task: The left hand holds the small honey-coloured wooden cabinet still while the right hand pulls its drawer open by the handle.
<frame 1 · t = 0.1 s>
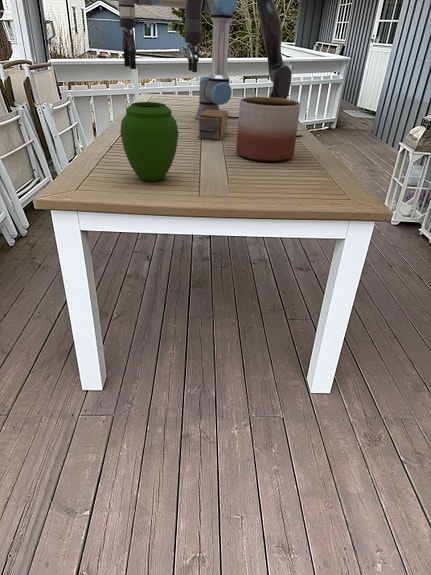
left hand: (130, 67, 208), 28 cm above the table, tool pointing down, fingers open, 13 cm apart
right hand: (192, 71, 193), 29 cm above the table, tool pointing down, fingers open, 8 cm apart
cabinet: (213, 135, 211), on the table
vase: (151, 178, 146), on the table
planter: (264, 155, 181), on the table
drawer: (211, 126, 204), point 6 cm above the table, slide at 1.1 cm
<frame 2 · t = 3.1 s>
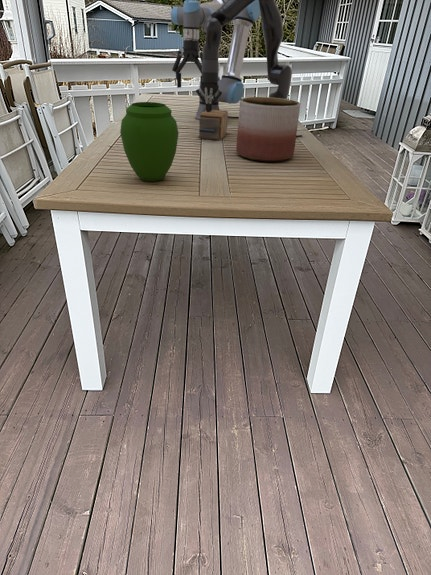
left hand: (190, 88, 207), 20 cm above the table, tool pointing down, fingers open, 13 cm apart
right hand: (208, 112, 193), 13 cm above the table, tool pointing down, fingers closed
nothing on the table moved.
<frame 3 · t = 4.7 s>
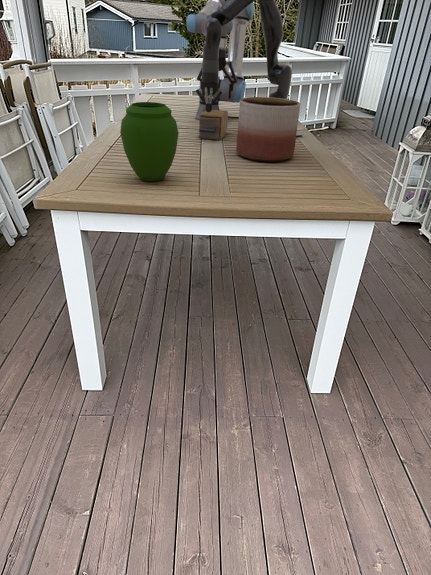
left hand: (216, 97, 206), 17 cm above the table, tool pointing down, fingers open, 13 cm apart
right hand: (208, 112, 193), 13 cm above the table, tool pointing down, fingers closed
nothing on the table moved.
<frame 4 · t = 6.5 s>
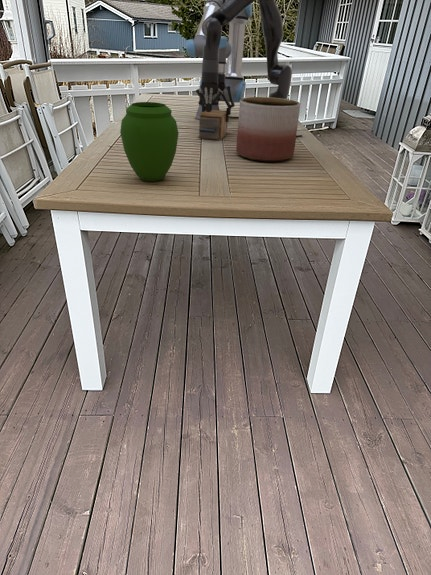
left hand: (215, 120, 212), 6 cm above the table, tool pointing down, fingers closed on cabinet, 11 cm apart
right hand: (208, 112, 193), 13 cm above the table, tool pointing down, fingers closed
cabinet: (213, 135, 211), on the table, touching left hand
everything else where it was.
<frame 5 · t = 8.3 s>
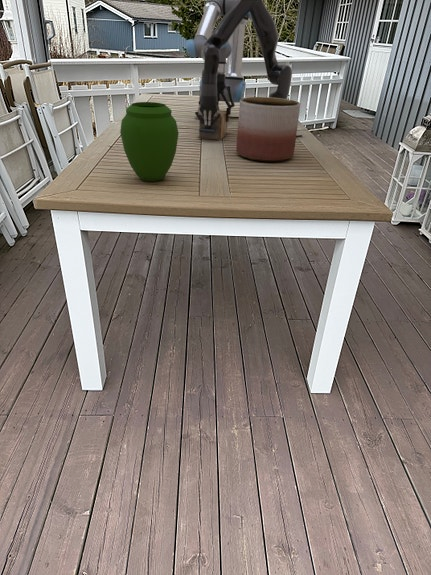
left hand: (215, 120, 212), 6 cm above the table, tool pointing down, fingers closed on cabinet, 11 cm apart
right hand: (207, 133, 198), 4 cm above the table, tool pointing down, fingers closed
cabinet: (213, 135, 211), on the table, touching left hand
drawer: (211, 126, 204), point 6 cm above the table, slide at 1.3 cm, touching right hand
everything else where it was.
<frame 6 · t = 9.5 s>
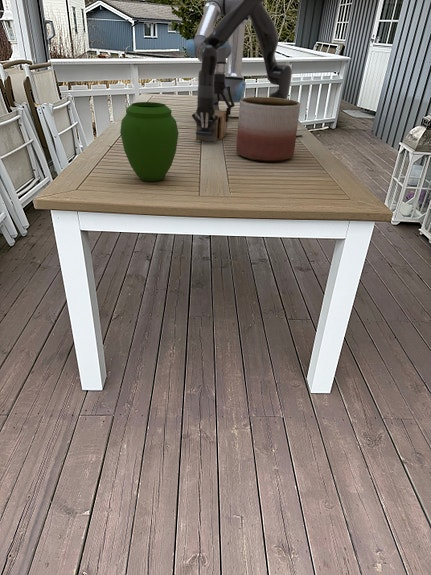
left hand: (215, 120, 212), 6 cm above the table, tool pointing down, fingers closed on cabinet, 11 cm apart
right hand: (204, 135, 193), 4 cm above the table, tool pointing down, fingers closed
cabinet: (213, 135, 211), on the table, touching left hand
drawer: (208, 128, 198), point 6 cm above the table, slide at 7.4 cm, touching right hand
everything else where it was.
when the left hand's fingers open (6 cm above the table, at t = 11.5 s): cabinet stays where it is, on the table.
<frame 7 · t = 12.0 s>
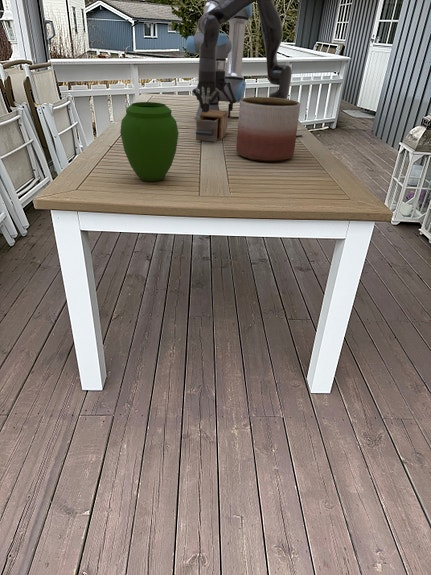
left hand: (216, 116, 211), 8 cm above the table, tool pointing down, fingers open, 13 cm apart
right hand: (206, 112, 188), 14 cm above the table, tool pointing down, fingers closed
cabinet: (213, 135, 211), on the table
drawer: (208, 128, 198), point 6 cm above the table, slide at 7.4 cm
everything else where it was.
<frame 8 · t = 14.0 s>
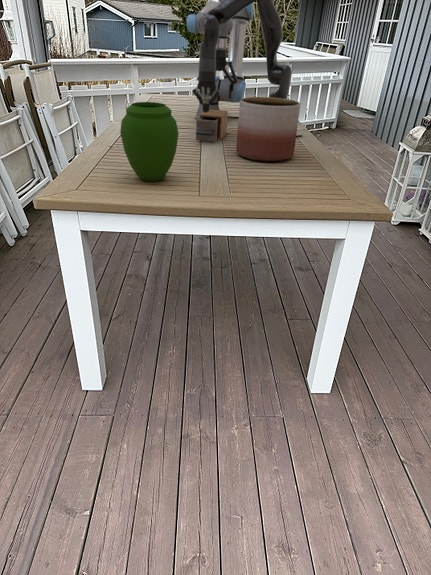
left hand: (216, 97, 206), 17 cm above the table, tool pointing down, fingers open, 13 cm apart
right hand: (206, 112, 188), 14 cm above the table, tool pointing down, fingers closed
nothing on the table moved.
at the end: drawer slide at 7.4 cm; cabinet tilted 0°; cabinet never tilted more than 1° during the clip; cabinet moved 0.1 cm from its start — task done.
